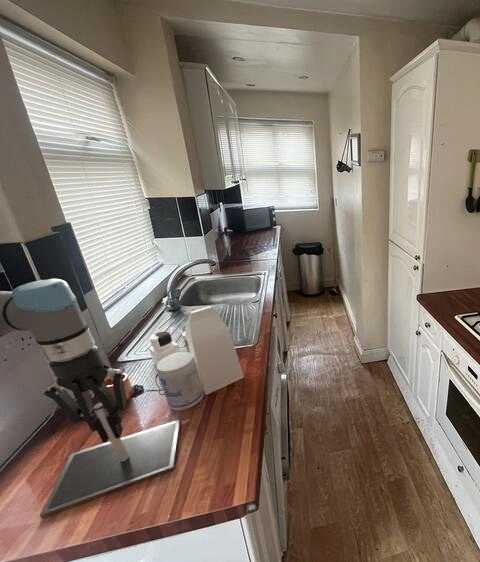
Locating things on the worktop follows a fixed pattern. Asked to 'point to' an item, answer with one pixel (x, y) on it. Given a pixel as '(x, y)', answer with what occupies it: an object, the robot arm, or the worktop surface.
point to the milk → (212, 349)
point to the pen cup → (127, 386)
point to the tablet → (114, 467)
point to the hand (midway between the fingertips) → (113, 435)
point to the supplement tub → (180, 380)
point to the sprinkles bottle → (186, 341)
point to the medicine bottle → (162, 346)
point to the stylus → (111, 433)
